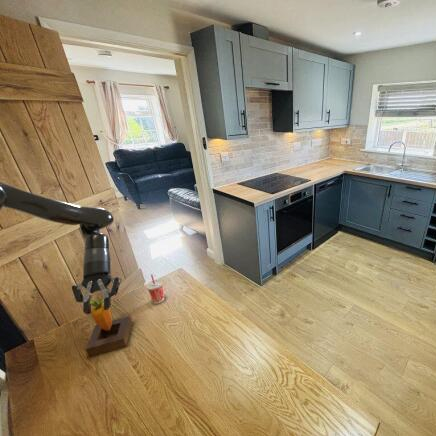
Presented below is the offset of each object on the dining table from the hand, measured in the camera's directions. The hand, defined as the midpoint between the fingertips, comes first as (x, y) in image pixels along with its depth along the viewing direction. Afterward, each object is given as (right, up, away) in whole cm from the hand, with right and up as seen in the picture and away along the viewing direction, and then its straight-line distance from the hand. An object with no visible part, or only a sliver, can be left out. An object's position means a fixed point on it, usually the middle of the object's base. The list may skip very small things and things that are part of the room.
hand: (97, 311), depth 80 cm
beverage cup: (+6, -5, +26) cm, 27 cm away
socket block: (-1, -13, +8) cm, 16 cm away
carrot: (-1, -10, +6) cm, 11 cm away
